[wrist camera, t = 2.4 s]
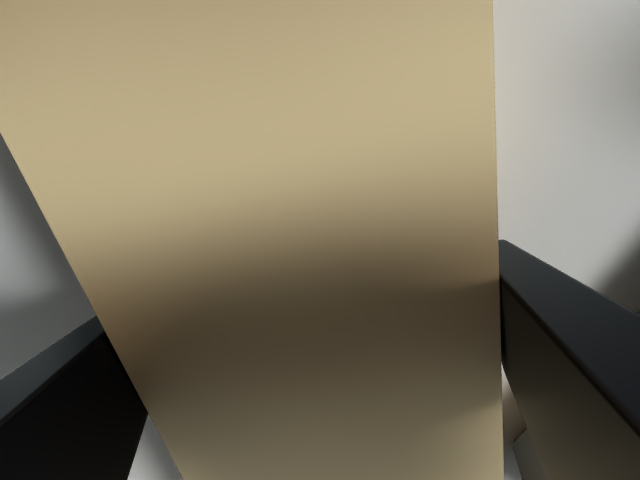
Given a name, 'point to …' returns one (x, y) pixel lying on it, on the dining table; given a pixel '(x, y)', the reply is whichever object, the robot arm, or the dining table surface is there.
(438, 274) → the oak plank
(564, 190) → the dining table surface
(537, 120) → the dining table surface
